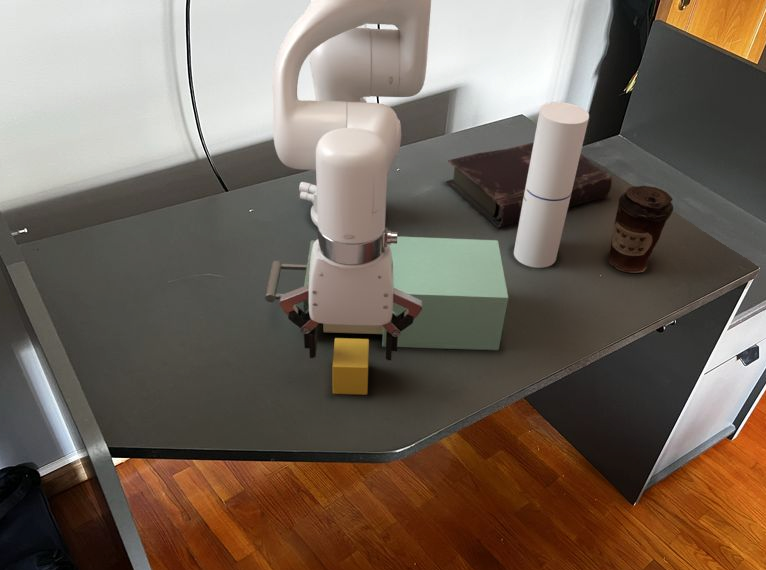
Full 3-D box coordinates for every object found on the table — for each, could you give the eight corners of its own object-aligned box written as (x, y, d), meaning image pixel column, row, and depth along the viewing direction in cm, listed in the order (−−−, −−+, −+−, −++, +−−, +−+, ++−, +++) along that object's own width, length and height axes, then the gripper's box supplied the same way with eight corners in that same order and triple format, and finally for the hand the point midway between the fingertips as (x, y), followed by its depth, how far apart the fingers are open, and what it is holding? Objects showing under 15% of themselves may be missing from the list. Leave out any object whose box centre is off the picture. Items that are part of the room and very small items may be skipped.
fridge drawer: (265, 335, 103) (261, 291, 98) (276, 281, 112) (272, 238, 107) (415, 340, 104) (419, 296, 99) (413, 286, 114) (417, 244, 108)
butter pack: (332, 394, 97) (332, 366, 93) (335, 365, 101) (334, 337, 98) (367, 395, 97) (367, 367, 94) (368, 366, 101) (369, 338, 98)
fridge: (382, 346, 104) (384, 293, 98) (383, 287, 114) (385, 235, 108) (498, 350, 105) (508, 297, 99) (489, 291, 115) (498, 240, 109)
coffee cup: (642, 285, 119) (665, 216, 110) (594, 267, 122) (613, 198, 113) (659, 260, 125) (682, 192, 116) (613, 243, 128) (632, 175, 119)
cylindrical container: (529, 271, 120) (558, 127, 103) (505, 248, 124) (530, 106, 108) (564, 261, 123) (599, 119, 106) (540, 239, 127) (569, 99, 110)
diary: (608, 200, 138) (615, 176, 135) (500, 231, 128) (504, 206, 125) (547, 156, 150) (552, 133, 146) (443, 182, 140) (445, 157, 136)
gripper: (426, 225, 87) (417, 335, 98) (278, 219, 86) (286, 331, 97) (428, 261, 82) (418, 374, 93) (270, 255, 80) (280, 370, 92)
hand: (351, 352), depth 95 cm, fingers open, 9 cm apart
